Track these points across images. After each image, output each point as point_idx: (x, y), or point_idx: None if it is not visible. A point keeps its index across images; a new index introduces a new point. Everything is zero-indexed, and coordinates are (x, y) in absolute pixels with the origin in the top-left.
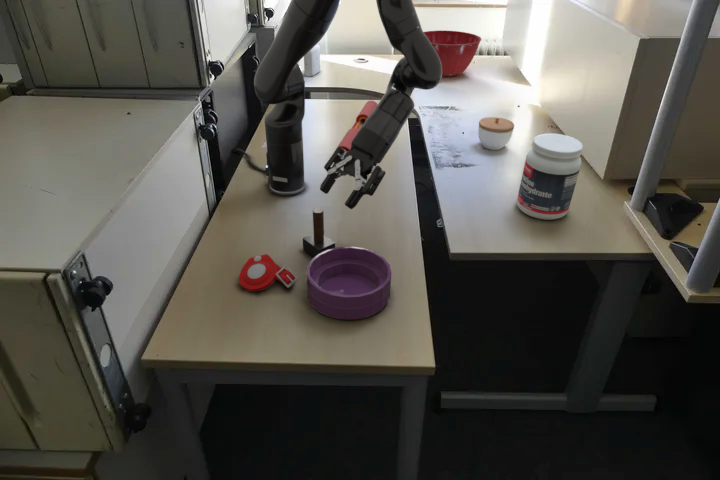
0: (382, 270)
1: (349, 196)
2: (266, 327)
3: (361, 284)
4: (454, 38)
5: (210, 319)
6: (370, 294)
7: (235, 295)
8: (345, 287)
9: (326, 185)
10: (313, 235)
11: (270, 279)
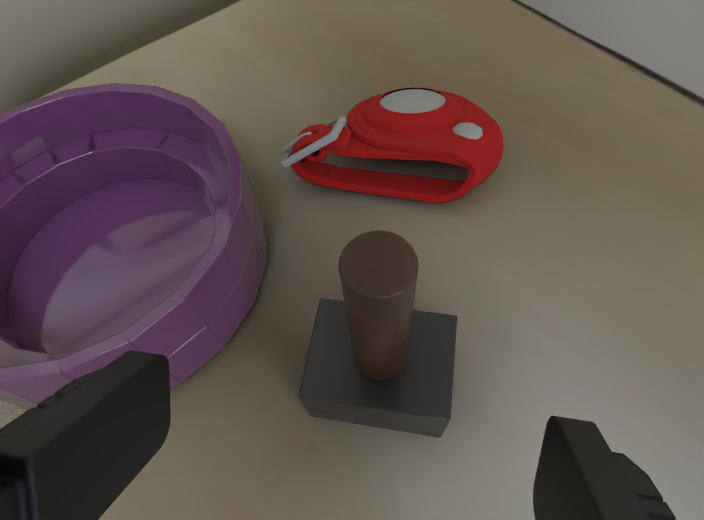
0: None
1: (107, 396)
2: (250, 66)
3: (95, 323)
4: None
5: (376, 16)
6: None
7: (408, 79)
8: (142, 273)
9: (565, 485)
10: (436, 368)
11: (354, 117)
